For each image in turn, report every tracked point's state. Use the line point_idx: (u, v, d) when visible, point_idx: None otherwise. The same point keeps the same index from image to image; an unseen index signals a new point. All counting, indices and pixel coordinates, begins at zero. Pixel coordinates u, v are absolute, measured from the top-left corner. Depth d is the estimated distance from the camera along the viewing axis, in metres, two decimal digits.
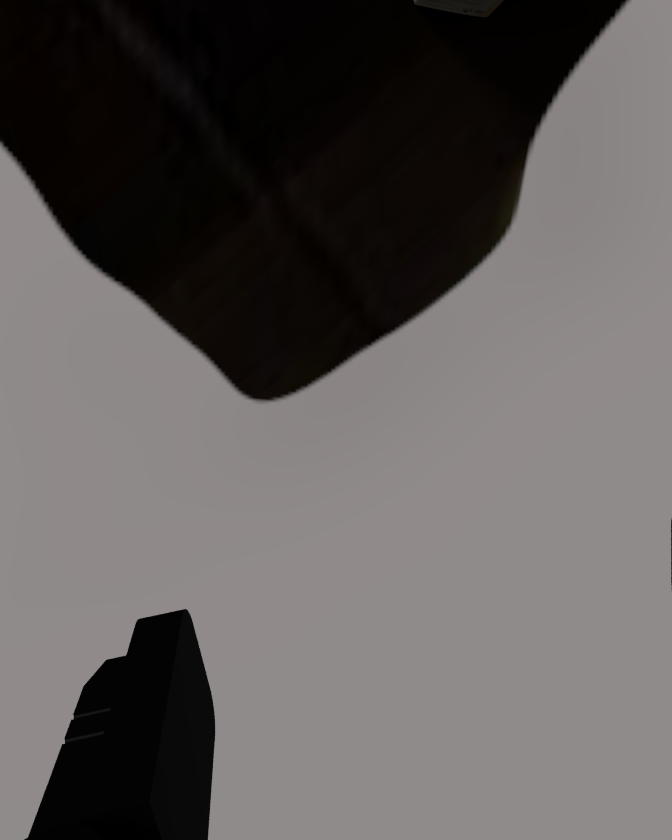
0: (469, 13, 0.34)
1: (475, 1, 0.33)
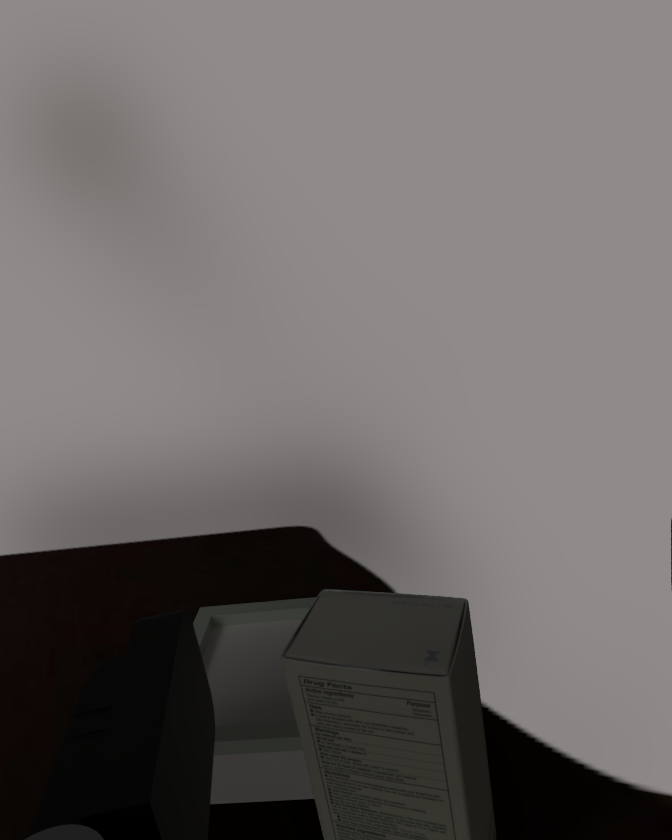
0: None
1: (489, 829, 0.26)
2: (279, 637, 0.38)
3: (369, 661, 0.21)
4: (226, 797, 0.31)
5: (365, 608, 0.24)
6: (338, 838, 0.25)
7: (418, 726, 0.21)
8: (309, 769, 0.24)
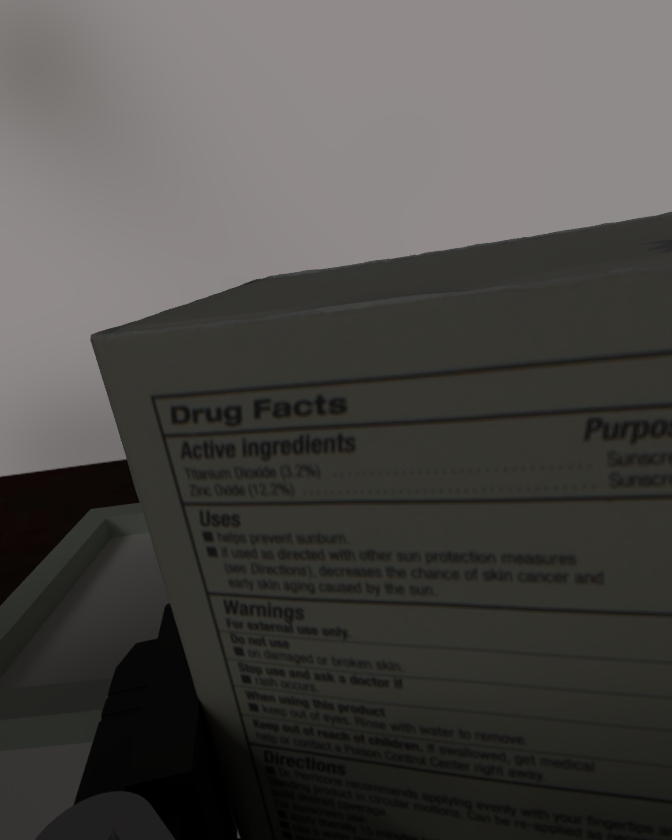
0: None
1: None
2: None
3: (415, 288, 0.05)
4: None
5: (385, 263, 0.08)
6: None
7: (628, 542, 0.05)
8: (219, 753, 0.08)
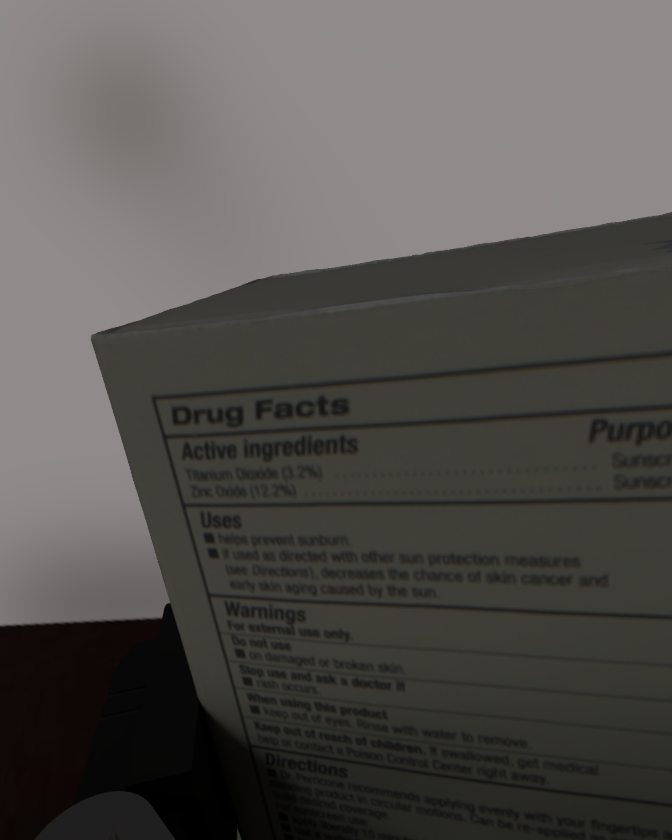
0: None
1: None
2: None
3: (418, 290, 0.05)
4: None
5: (386, 263, 0.08)
6: None
7: (633, 543, 0.05)
8: (220, 755, 0.08)
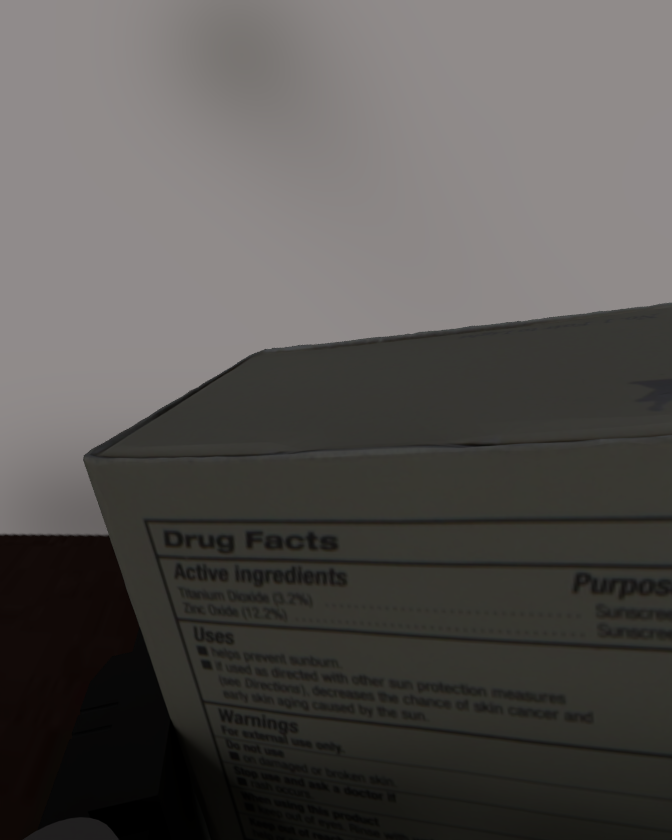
0: None
1: None
2: None
3: (406, 432, 0.05)
4: None
5: (377, 353, 0.08)
6: None
7: (616, 685, 0.05)
8: None
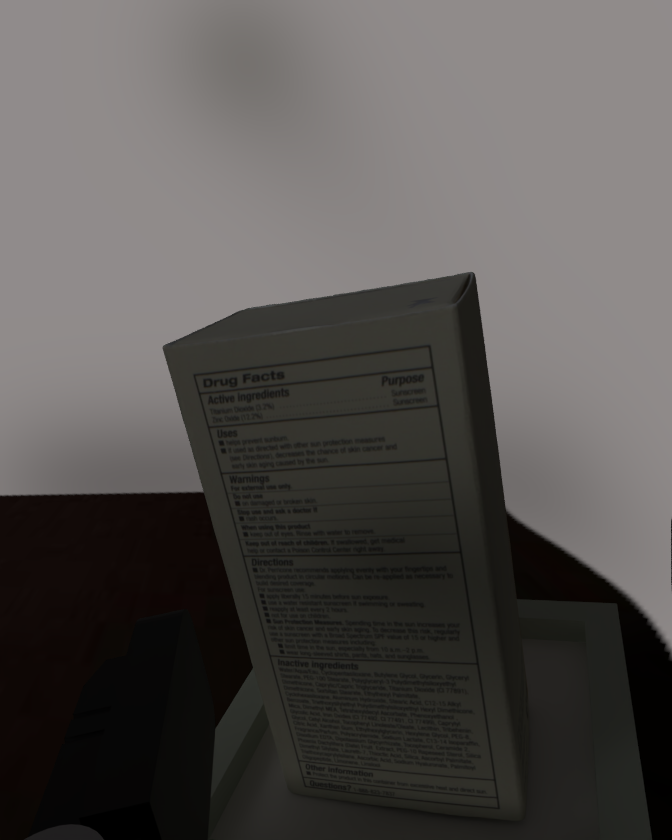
0: (527, 712, 0.17)
1: (521, 668, 0.17)
2: None
3: (312, 323, 0.12)
4: None
5: (310, 303, 0.15)
6: (283, 689, 0.15)
7: (404, 429, 0.12)
8: (227, 565, 0.14)
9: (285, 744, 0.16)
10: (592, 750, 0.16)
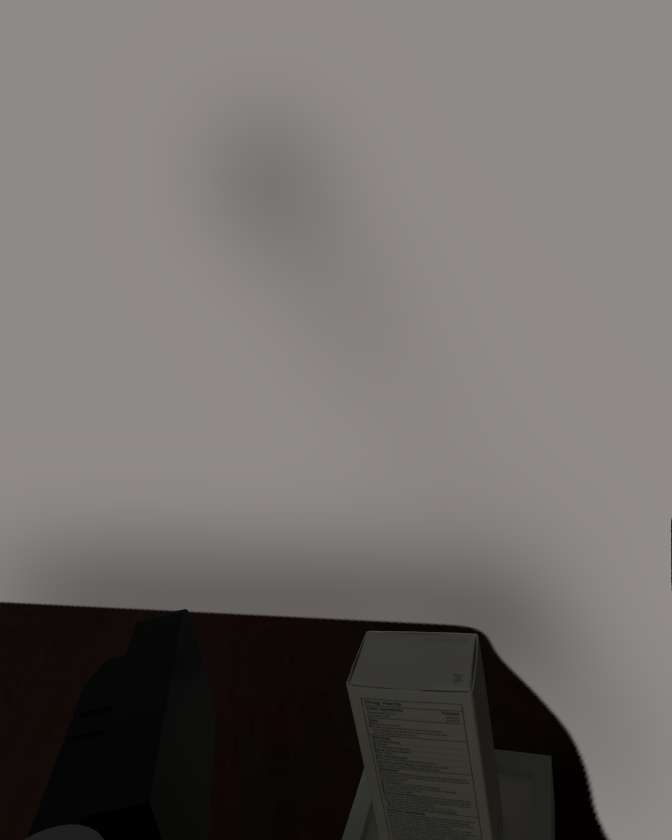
0: (501, 825, 0.35)
1: (498, 806, 0.34)
2: None
3: (413, 685, 0.30)
4: None
5: (403, 645, 0.33)
6: (388, 820, 0.33)
7: (450, 729, 0.30)
8: (366, 768, 0.32)
9: None
10: None
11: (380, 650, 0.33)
